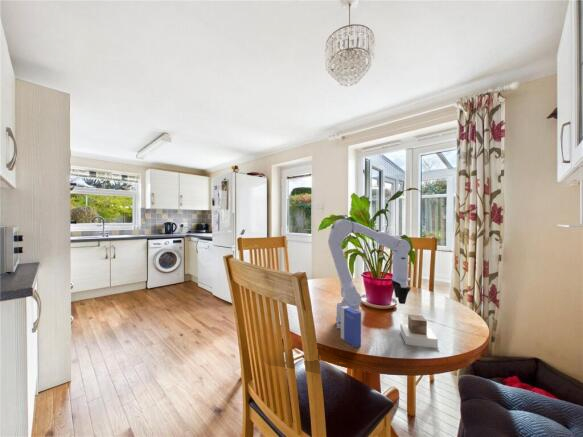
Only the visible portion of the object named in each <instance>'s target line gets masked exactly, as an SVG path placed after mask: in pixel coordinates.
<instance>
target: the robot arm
mask: <svg viewBox="0 0 583 437" xmlns="http://www.w3.org/2000/svg"><path fill="white" fill-rule="evenodd" d="M357 233H358V234H361V235H364V236H367V237H369V238H371V239H374V241H375V243H376V244H377V245H380V246H383V247H385V248H387V249H390V250H391V251H392V278H391V279H390V282H391V284H392V287H393V292H394V295H395V298H397V300H398V303H399V304H401V305H406V302H407V298H408V295H409V292H410V290H411V287H410V286H407V283H408V282H411V281H412V278H410V277H409V270H408V268H409V267H408V266H409V263H408V262H409V261H408V260H409V252H410V251H411V249H412V248H411V245H410V242H409V241H408V240H407V239H404V238H400V236H399V235H393V234H391V233H389V230H380V231H375V230H374V229H371V228H370V227H368V226H365V225H363V224H361V223H359V222H356V221H350V220H349V219H346V218H345V219H343V218H342V219H341V218H340V219H336V220H335V221H334V223H333V224H332V225H331V226H330V233H329V236H328V239H327V240H328V241H327V244H328V248H329V250H330V254H331V257H332V260H333V263H334V266H335V269H336V273H337V277H338V279H339V282H340V283H339V284H340V295H341V297H342V301H341V302H337V303H336V316H335V321H336V328H337V329H341V306H349V307H351V308H353V309H355V310H358V311H359V312H361V311H360V304H361V303H362V297H361V296H362V295H361V294H360V293H359V292H358V290H357V288H356V286H355V283H354V282H353V278H352V276H351V272H350V269H349V267H348V263H347V260H346V256H345V253H344V250H343V247H342V243H343V241H344V240H345V239H346V238H347V237H348V236H349V235H350V234H357Z"/></svg>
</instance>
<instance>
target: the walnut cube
mask: <svg viewBox="0 0 583 437" xmlns="http://www.w3.org/2000/svg"><path fill="white" fill-rule="evenodd" d="M407 318H408V320H407V322H408V323H407V325H408V328H409V330H410V332H411V334H421V335H427V327H428V325H427V323H428V321H427V319H426V318H425V317H424V315H419V314H409V313H408V314H407Z"/></svg>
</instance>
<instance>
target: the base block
mask: <svg viewBox="0 0 583 437" xmlns="http://www.w3.org/2000/svg"><path fill="white" fill-rule="evenodd" d="M399 329H400V330H399V331H400V334H401V337H402V338H403V340H404V343H405V345H406V346H415V347H425V348H432V349H438V348H439V347H438V344H439V342H438V337H437V336H436V335H435V333H434V332H433V330H431V328H430V327H429V326H427V335H421V334H411V332H410V330H409V328H408V324H403V323H402V324H400V328H399Z"/></svg>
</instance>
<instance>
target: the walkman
mask: <svg viewBox="0 0 583 437" xmlns="http://www.w3.org/2000/svg"><path fill="white" fill-rule="evenodd" d="M340 338H341V339H342V340H343V341H345V342H347V344H348V345H350V346H352V347H353V348H358V347H361V346H362V312H361V311H360V312H359V311H358V310H355V309H353V308H351V307H349V306H341V328H340Z"/></svg>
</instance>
